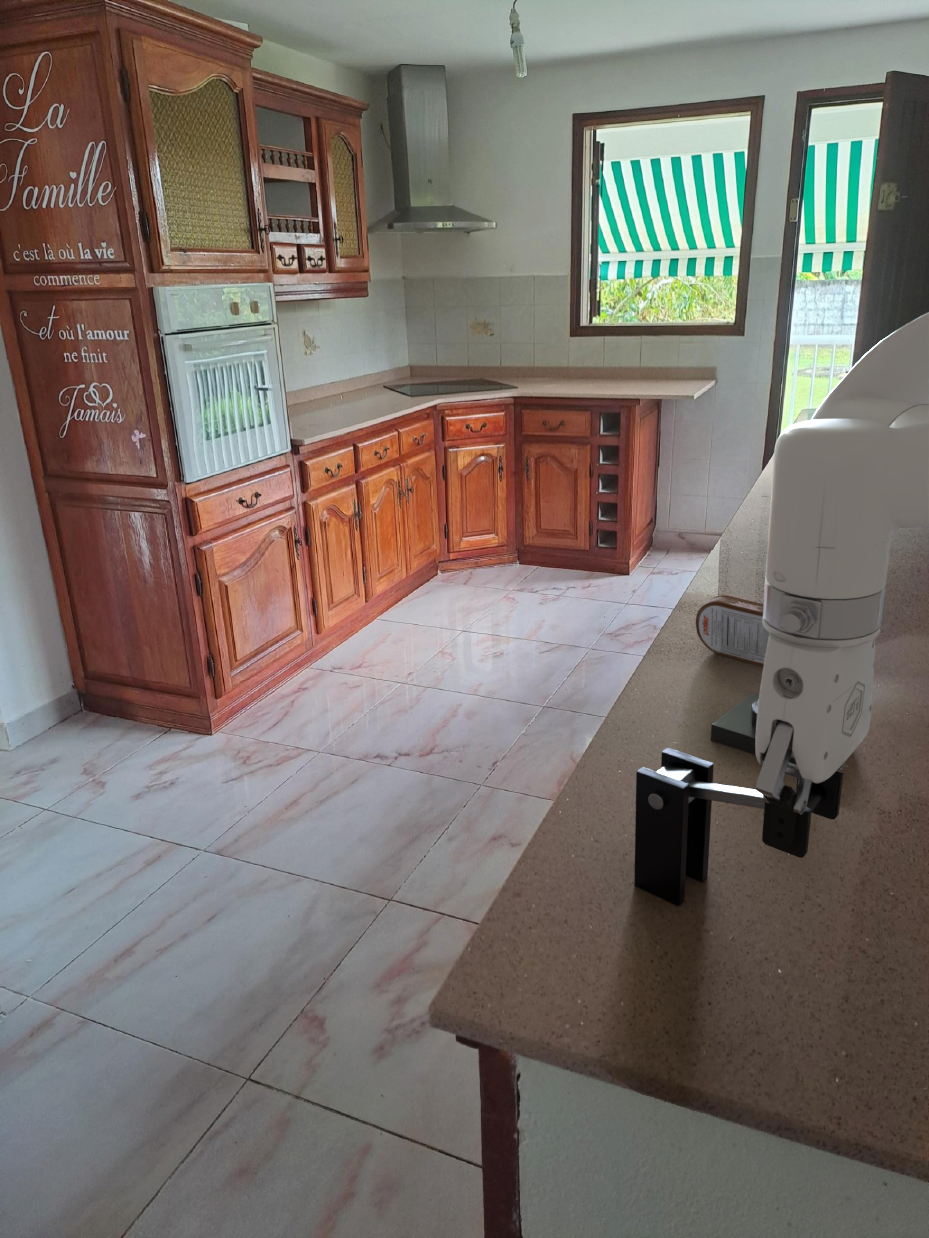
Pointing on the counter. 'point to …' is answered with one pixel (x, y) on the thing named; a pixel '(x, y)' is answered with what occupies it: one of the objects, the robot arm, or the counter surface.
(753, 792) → the lever
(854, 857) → the counter surface
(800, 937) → the counter surface
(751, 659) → the tin
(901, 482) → the robot arm
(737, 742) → the control block
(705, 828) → the bracket
